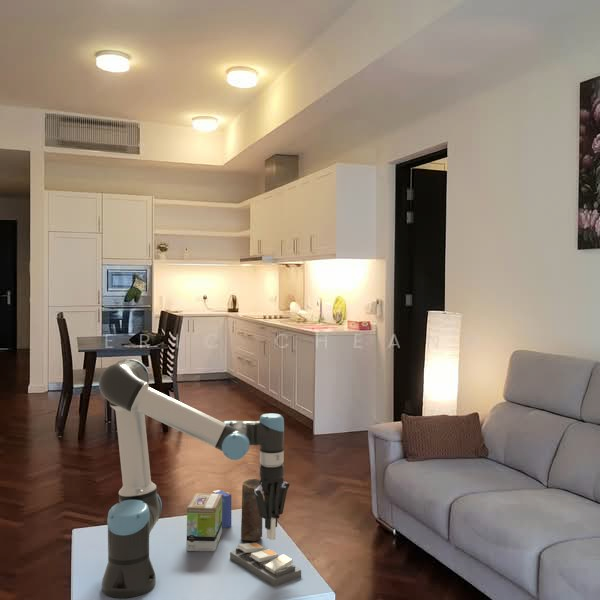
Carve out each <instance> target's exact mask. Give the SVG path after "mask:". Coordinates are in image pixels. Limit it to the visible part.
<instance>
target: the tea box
mask: <svg viewBox="0 0 600 600" xmlns="http://www.w3.org/2000/svg"><path fill="white" fill-rule="evenodd" d="M222 529H223V527H222V494H212V493H204V492H203V493H202V492H201V493H200V492H199V493H197V492H196V493H194V495H193V497H192V499H191V500H190V502H189V504H188V506H187V507H186V549H185V550H186V551H187V552H215V551H216V549H217V546H218V544H219V542H220V538H221V537H222V533H223V530H222Z"/></svg>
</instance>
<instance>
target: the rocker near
mask: <svg viewBox="0 0 600 600" xmlns="http://www.w3.org/2000/svg"><path fill="white" fill-rule="evenodd" d="M293 563H294V562H293V559H292V558H291V557H289V556H288V555H286V554H284V553H283V554H281V555H278V558H276V559H274V560H273V561H271V562H269V563H268V564H266V565H265V568H266V569H267V570H269V571H270V572H272V573H274V574H275V572H276V571H278V570H281V569H284V568H285V567H287V566H289V565H290V564H292V565H293Z"/></svg>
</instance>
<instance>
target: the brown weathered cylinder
mask: <svg viewBox="0 0 600 600" xmlns="http://www.w3.org/2000/svg"><path fill="white" fill-rule="evenodd" d="M260 480H261V479H257V478H249V479H246V480H245V481H243V483H242V485H241V486H242V487H241V488H242V489H241V493H242V494H241V520H240V523H241V524H240V525H241V526H240V539H241V540H243V541H249V542H255V541H259V540H260V539H261V538H263V518H262V517H260V516H259V511H258V506H257V501H256V496H255V494H254V492H253V489H254V488H255V489H256V488H257V487H258V486H259V483H260ZM262 492H263V490H262ZM262 495H263V493H262ZM263 496H264V495H263Z"/></svg>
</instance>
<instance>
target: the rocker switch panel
mask: <svg viewBox="0 0 600 600" xmlns="http://www.w3.org/2000/svg"><path fill="white" fill-rule="evenodd" d="M264 550H267V548H264V549H262V550H259V551H264ZM259 551H256V552H259ZM251 553H255V552H248V553H246V552H244V551H242V550H240V549H239V548H238V547H235V550H233V551H230V553H229V557H230V558H229V559H231V560H232V561H234V562H236V563H237V564H238V563H239V564H238V565H241V566H242V567H243V568H245V569H246V570H248V571H249V572H251V573H253V574H254V575H256V576H258V577H259V578H260V579H262V580H264V581H265V582H267V583H269V584H270V585H272V586H274V587H276V586H279V585H283V584H284V583H287V582H290V581H292V580H295V579H298V578H301V577H302V569H300V568H299V567H297V566H296V565H294V564H293V563H292V564H290V565H289V566H287V567H285V568H284V569H281V570H278V571H276V572H275V574H274V573H272V572H270V571H269V570H267V569H266V568H265V565H266V564H268V563H269V562H271V561H273V560H274V559H276V558H278V557H279V556H278V557H276V558H273V559H270V560H267V561H263V562H258V561H257V560H255V559H253V558H252V557H251Z"/></svg>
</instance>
